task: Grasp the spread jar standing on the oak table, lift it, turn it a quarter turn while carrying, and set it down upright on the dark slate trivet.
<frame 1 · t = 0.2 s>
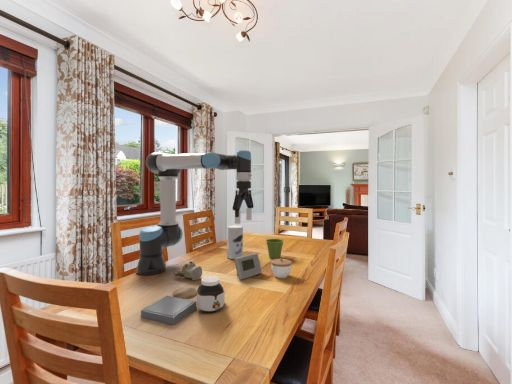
hand: (243, 221, 142), 28 cm above the table, fingers open, 13 cm apart
slate trivet: (169, 312, 102), on the table
spread jar: (211, 307, 107), on the table
ceramic sculpture: (190, 278, 139), on the table
digital clock: (248, 276, 142), on the table
plant pot: (274, 258, 177), on the table
lidded jar: (281, 276, 142), on the table
container: (235, 257, 178), on the table
oak coaster: (184, 294, 119), on the table
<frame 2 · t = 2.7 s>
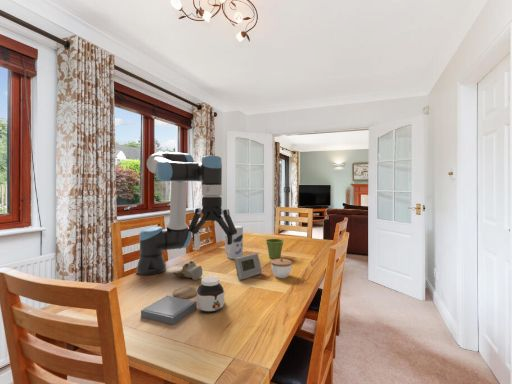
hand: (212, 251, 106), 22 cm above the table, fingers open, 13 cm apart
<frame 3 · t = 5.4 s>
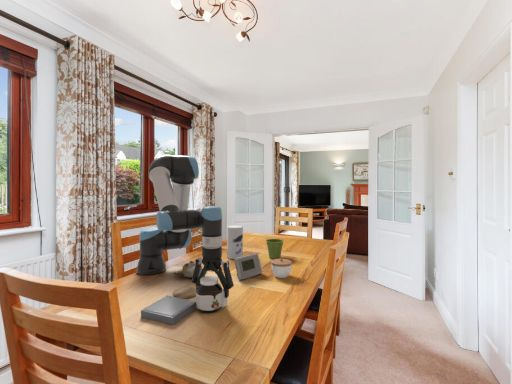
hand: (212, 303, 107), 1 cm above the table, fingers closed on spread jar, 10 cm apart
spread jar: (210, 306, 107), on the table, touching gripper
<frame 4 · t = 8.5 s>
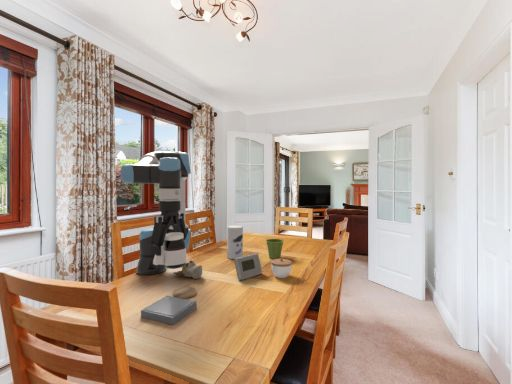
hand: (170, 260, 102), 20 cm above the table, fingers closed on spread jar, 10 cm apart
spread jar: (169, 265, 101), point 18 cm above the table, touching gripper
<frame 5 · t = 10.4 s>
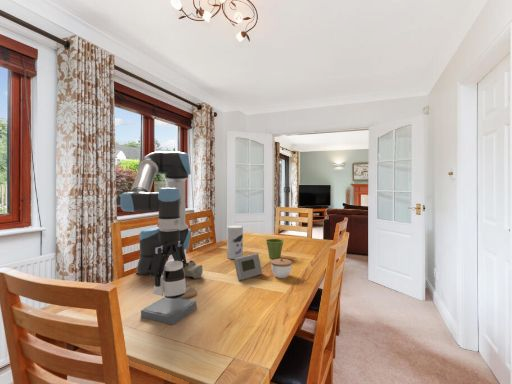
hand: (169, 289, 102), 9 cm above the table, fingers closed on spread jar, 10 cm apart
spread jar: (169, 295, 101), point 7 cm above the table, touching gripper
when the fingers open (5 cm above the table, at t = 12.1 s): spread jar stays where it is, resting on slate trivet.
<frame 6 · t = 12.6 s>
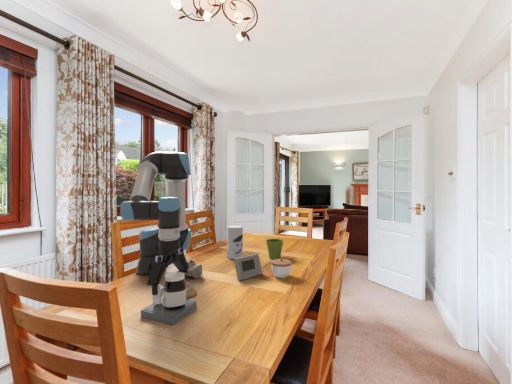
hand: (169, 295, 102), 6 cm above the table, fingers open, 13 cm apart
spread jar: (169, 306, 102), point 2 cm above the table, touching slate trivet
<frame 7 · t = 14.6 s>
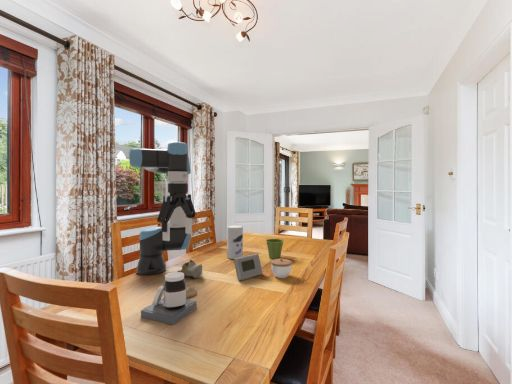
hand: (178, 236, 108), 27 cm above the table, fingers open, 13 cm apart
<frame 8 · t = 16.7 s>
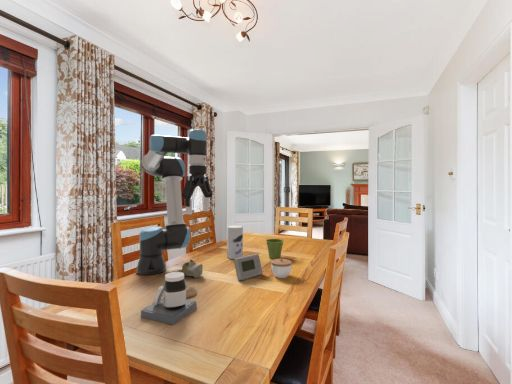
hand: (197, 212, 123), 35 cm above the table, fingers open, 13 cm apart
at the end: spread jar 0.4 cm from the slate trivet (horizontally); spread jar touching slate trivet; spread jar tilted 0° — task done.
